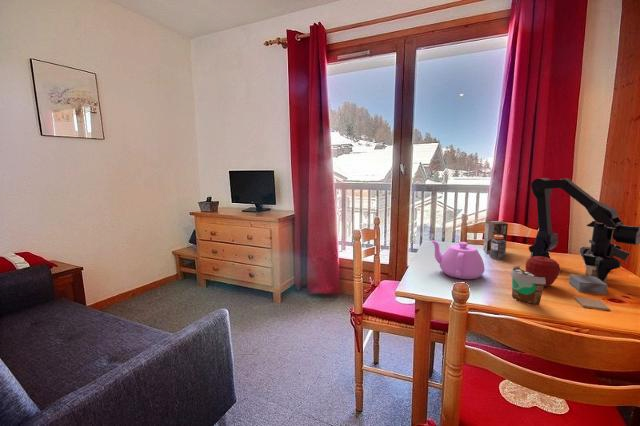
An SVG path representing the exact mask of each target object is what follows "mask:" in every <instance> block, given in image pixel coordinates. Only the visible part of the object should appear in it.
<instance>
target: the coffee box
mask: <svg viewBox="0 0 640 426" xmlns="http://www.w3.org/2000/svg"><path fill="white" fill-rule="evenodd" d="M508 226H509V223H507V222H506V221H503V220H485V222H484V231H483V232H484V234H483V235H484V236H483V247H482V250H483V252H485V254H490V253H491V241H492V239H494V235H502V236H504V239H503V240H504V241H505V252H504V255H506V250H507V239H508Z"/></svg>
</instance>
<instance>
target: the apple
mask: <svg viewBox="0 0 640 426" xmlns="http://www.w3.org/2000/svg"><path fill="white" fill-rule="evenodd" d="M525 271H527V272H530V273H532V274H534V275H535V276H537V277H540V278H545V280H546V284H544V286H543V288H544V287H547V286H550V285H552V284H554V283H555V281H556V280H557V278H559V274H560V273H561V267H560V264H559V263H558V262H557V261H556V260H555V259H554V258H551V257H550V258H547V257H544V256H543V257H542V256H534V257H531V258H530V257H529V258H527V260H526V262H525Z"/></svg>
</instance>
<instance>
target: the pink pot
mask: <svg viewBox="0 0 640 426" xmlns="http://www.w3.org/2000/svg"><path fill="white" fill-rule="evenodd" d="M430 241H431V242H432V243H433V245H434V258H435V260H436V262H437V263H438V264H439V267H440V269H441V271H442V272H443V273H444V274H446V276H449V277H451V278H456V279H461V280H476V279H478V278H479V277H481V276H483V274H484V273H485V270H486V269H485V263H484V260H483V257H482V256H481V254H480V252H479V250H478V249H477V248H476V247H474V246H472V245H469V244H468V242H466V241H459V242H458V244H452V245H449V247H448V248H447V249H446V250H445V251H444V253H443V254H442V253H441V250H440V244H439V242H438V241H436V240H433V239H430Z"/></svg>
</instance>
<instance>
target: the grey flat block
mask: <svg viewBox="0 0 640 426" xmlns="http://www.w3.org/2000/svg"><path fill="white" fill-rule="evenodd" d="M568 280H569V281H568V284H569V285H570V286H571V287H573V288H574V289H575V290H576V291H577V292H579V293H590V294H597V295H607V290H608V284H607V282H606V283H604V282H603V281H601V280H600V279H598V278H597V277H594V276H585V275H582V274H573V273H572V274H570V273H569V279H568Z"/></svg>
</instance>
